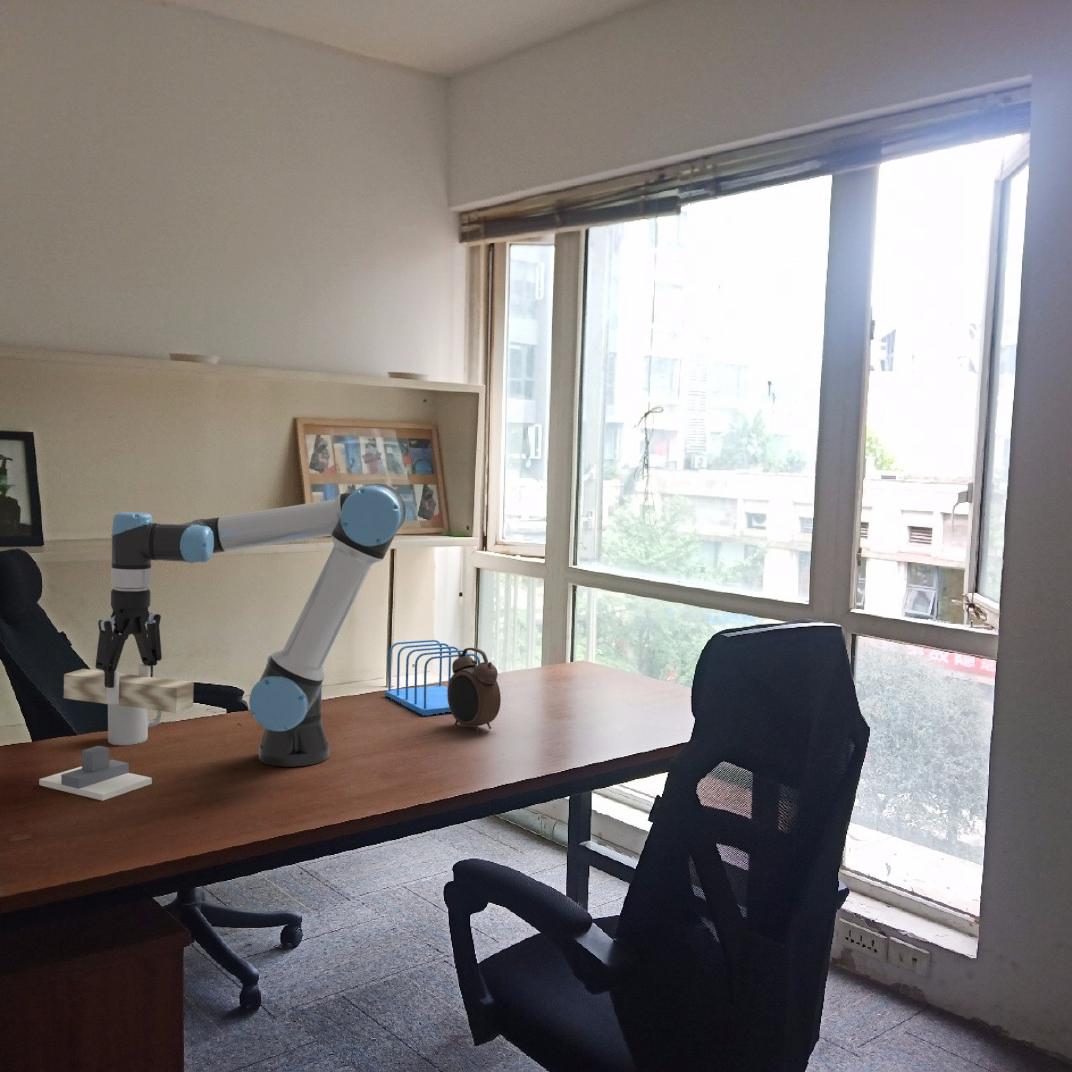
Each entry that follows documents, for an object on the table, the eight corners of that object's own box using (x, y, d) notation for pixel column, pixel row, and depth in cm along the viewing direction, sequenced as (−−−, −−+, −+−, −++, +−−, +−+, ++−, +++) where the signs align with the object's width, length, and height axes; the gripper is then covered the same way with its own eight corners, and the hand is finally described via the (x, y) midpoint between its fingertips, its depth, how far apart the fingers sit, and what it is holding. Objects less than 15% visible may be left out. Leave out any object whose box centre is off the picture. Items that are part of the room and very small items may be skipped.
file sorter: (483, 710, 278) (484, 653, 277) (423, 717, 269) (423, 658, 268) (441, 690, 300) (442, 637, 298) (384, 697, 291) (385, 642, 290)
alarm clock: (442, 725, 262) (443, 645, 260) (464, 720, 267) (466, 642, 265) (479, 738, 251) (481, 655, 249) (502, 732, 256) (504, 651, 254)
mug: (113, 747, 236) (113, 699, 236) (103, 738, 243) (103, 692, 242) (167, 740, 244) (167, 693, 243) (156, 731, 250) (156, 686, 250)
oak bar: (192, 706, 216) (193, 682, 216) (176, 713, 210) (176, 688, 210) (82, 692, 222) (83, 668, 222) (63, 698, 216) (64, 674, 216)
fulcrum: (151, 783, 212) (151, 748, 211) (102, 800, 201) (102, 763, 201) (89, 769, 220) (89, 735, 220) (39, 785, 210) (38, 749, 209)
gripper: (157, 582, 225) (155, 688, 227) (75, 590, 207) (74, 705, 209) (182, 586, 221) (179, 693, 223) (101, 594, 204) (99, 711, 206)
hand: (128, 699), depth 216 cm, fingers closed on oak bar, 7 cm apart
